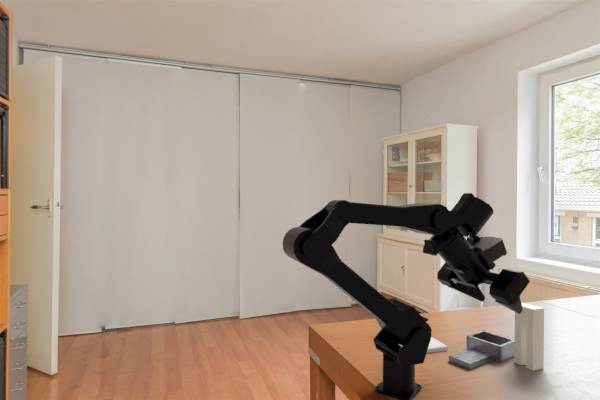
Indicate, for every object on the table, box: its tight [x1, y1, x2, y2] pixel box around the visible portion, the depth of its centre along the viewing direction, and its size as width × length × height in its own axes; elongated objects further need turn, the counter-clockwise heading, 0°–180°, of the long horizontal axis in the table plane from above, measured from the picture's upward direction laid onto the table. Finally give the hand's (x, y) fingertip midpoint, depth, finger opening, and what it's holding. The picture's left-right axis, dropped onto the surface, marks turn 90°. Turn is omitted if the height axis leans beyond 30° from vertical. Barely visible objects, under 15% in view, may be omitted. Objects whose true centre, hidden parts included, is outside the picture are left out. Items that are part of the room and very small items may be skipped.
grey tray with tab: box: [448, 330, 515, 370], centre depth 87 cm, size 16×8×3 cm, turn 124°
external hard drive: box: [399, 336, 448, 354], centre depth 93 cm, size 2×8×12 cm
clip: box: [513, 302, 545, 372], centre depth 83 cm, size 3×4×12 cm
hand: (501, 305), depth 80 cm, fingers open, 9 cm apart
